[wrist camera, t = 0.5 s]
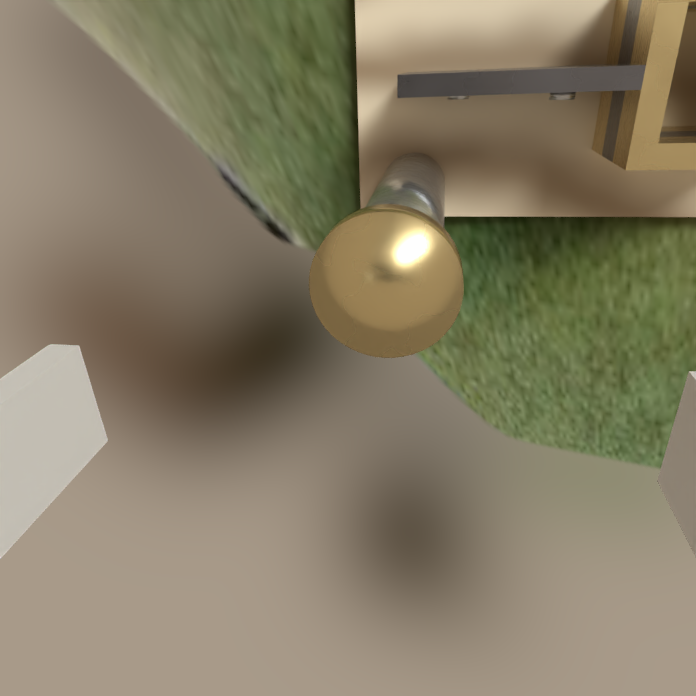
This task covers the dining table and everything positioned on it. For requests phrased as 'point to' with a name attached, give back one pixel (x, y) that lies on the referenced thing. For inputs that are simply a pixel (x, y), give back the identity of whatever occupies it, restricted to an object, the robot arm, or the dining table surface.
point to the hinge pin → (391, 266)
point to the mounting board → (508, 109)
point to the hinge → (601, 86)
